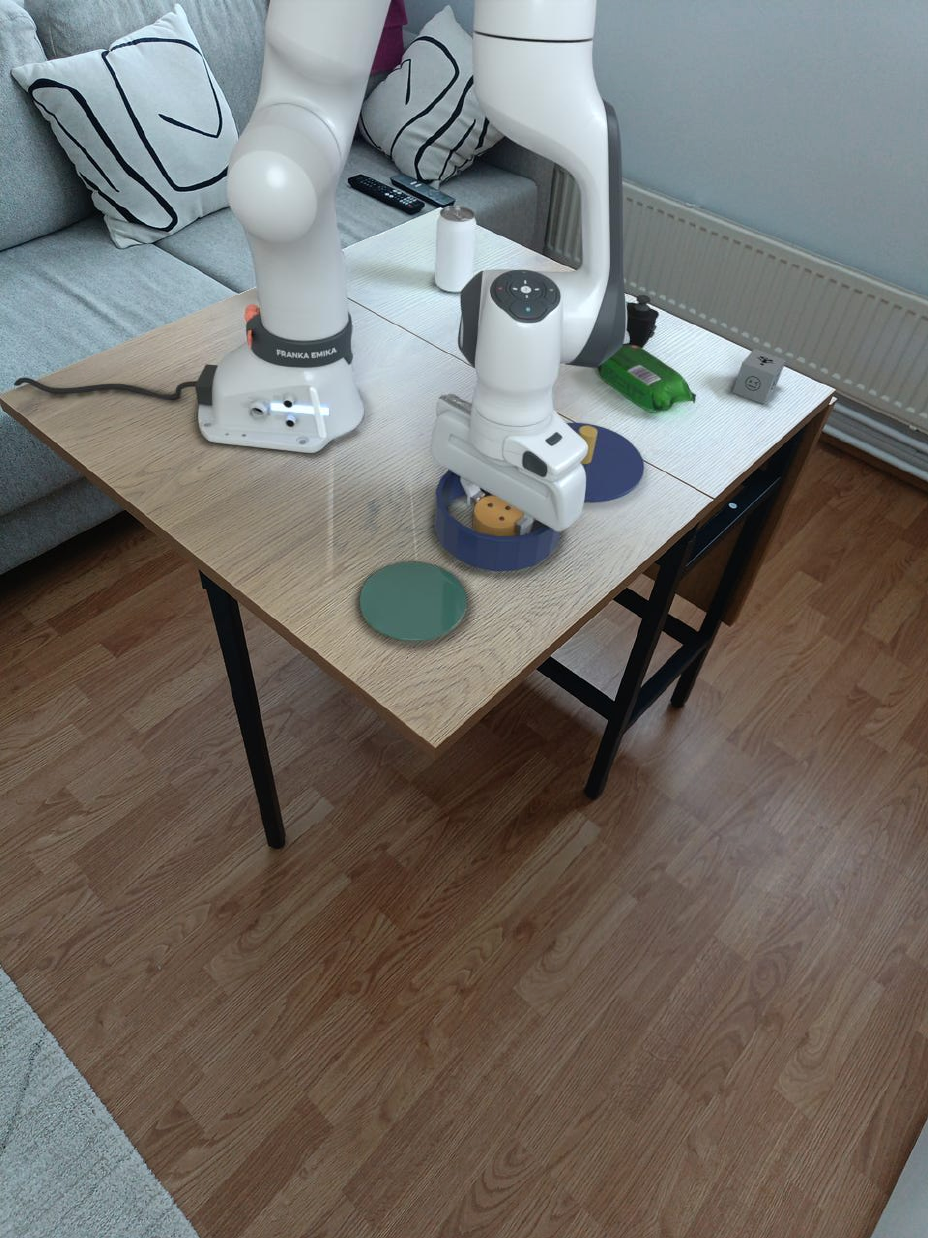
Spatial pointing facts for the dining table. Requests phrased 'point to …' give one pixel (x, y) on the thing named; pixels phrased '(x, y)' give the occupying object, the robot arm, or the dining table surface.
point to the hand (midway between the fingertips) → (498, 519)
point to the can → (455, 248)
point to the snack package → (645, 379)
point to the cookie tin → (486, 536)
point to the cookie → (495, 517)
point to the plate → (413, 601)
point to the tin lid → (608, 463)
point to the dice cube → (758, 376)
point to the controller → (640, 321)
